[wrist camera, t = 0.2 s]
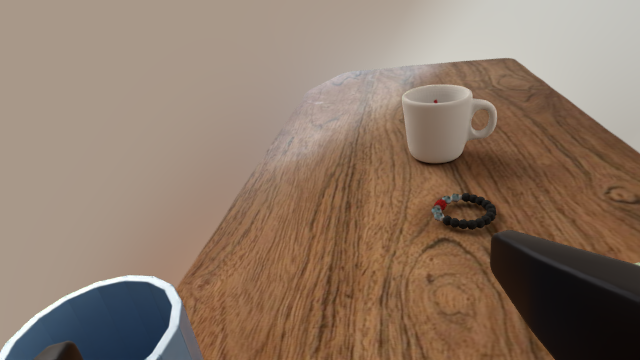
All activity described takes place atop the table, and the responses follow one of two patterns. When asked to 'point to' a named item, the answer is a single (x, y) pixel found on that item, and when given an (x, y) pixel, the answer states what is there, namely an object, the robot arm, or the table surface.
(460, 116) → the cup
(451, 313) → the table surface
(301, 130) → the table surface
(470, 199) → the bracelet
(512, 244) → the robot arm
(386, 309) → the table surface
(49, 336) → the blue hollow cylinder
